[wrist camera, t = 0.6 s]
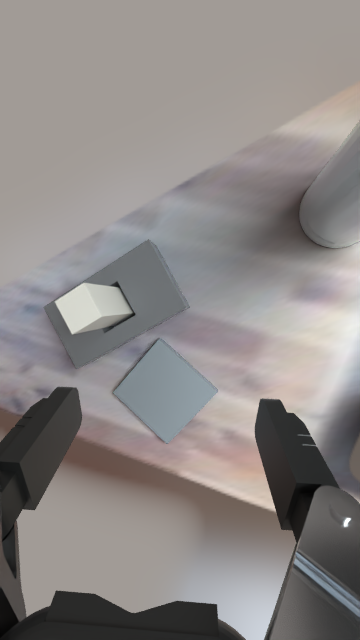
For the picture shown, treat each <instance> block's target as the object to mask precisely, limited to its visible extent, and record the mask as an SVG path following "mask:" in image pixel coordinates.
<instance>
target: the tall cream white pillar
mask: <svg viewBox="0 0 360 640" xmlns="http://www.w3.org/2000/svg"><path fill="white" fill-rule="evenodd" d="M55 303H56V305H57V307H58V309H59V311H60V313H61V315H62V316H63V318H64V320H65V322H66V324H67V326H68V328H69V330H70V331H71V333H72V334H77V333H82V332H86V331H91V330H96V329H101V328H105V327H110V326H115V325H118V324H120V323H121V322H123V321H125V320H127V319H128V318H130V317H132V316H133V315H135V313H134V311H133V309H132V307H131V305H130V304H129V302H128V300H127V298H126V296H125V294H124V292H123V291H122V289H121V288H119V287H111V286H104V285H97V284H90V283H83V284H81V285H80V286H78V287H76V288H75V289H73V290H72V291H70V292H69V293H67V294H66V295H64V296H62V297H61V298H59V299H58V300H56V301H55Z"/></svg>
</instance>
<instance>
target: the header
mask: <svg viewBox="0 0 360 640" xmlns="http://www.w3.org/2000/svg"><path fill="white" fill-rule="evenodd" d="M83 283H90V284H97V285H104V286H111V287H119V288H120V287H121V289H122V291H123V292H124V294H125V296H126V298H127V300H128V302H129V304H130V305H131V307H132V309H133V311H134V313H135V316H133V317H132V318H130V319H128V320H126V321H125V322H123V323H121V324H120V325H118V326H116V327H114V326H110V327H105V328H101V329H96V330H91V331H86V332H82V333H77V334H72V333H71V331H70V330H69V328H68V326H67V324H66V322H65V320H64V318H63V316H62V315H61V313H60V311H59V309H58V307H57V305H56V303H55V301H56V300H58V299H59V298H61V297H62V296H64V295H66V294H67V293H69V292H70V291H72V290H73V289H75V288H76V287H78V286H80V285H81V284H83ZM76 287H74V288H73V289H71V290H70V291H68V292H67V293H65V294H63V295H62V296H60V297H59V298H57V299H56V300H54V301H53V302H51V303H50V304H48V305H46V306H45V307H44V309H45V311H46V313H47V315H48V317H49V318H50V320H51V322H52V324H53V326H54V328H55V330H56V332H57V333H58V335H59V337H60V339H61V341H62V343H63V345H64V347H65V348H66V350H67V352H68V354H69V356H70V358H71V360H72V362H73V363H74V365H75V367H76V369H78V368H80V367H82V366H84V365H87V364H89V363H91V362H93V361H94V360H96V359H98V358H100V357H101V356H103V355H105V354H107V353H109V352H110V351H112V350H114V349H116V348H118V347H119V346H121V345H123V344H125V343H126V342H128V341H130V340H132V339H134V338H135V337H137V336H139V335H141V334H142V333H144V332H146V331H148V330H150V329H151V328H153V327H155V326H157V325H159V324H160V323H162V322H164V321H166V320H167V319H169V318H171V317H173V316H175V315H176V314H178V313H180V312H182V311H184V310H185V309H187V308H189V307H190V306H189V305H188V303H187V301H186V299H185V297H184V295H183V294H182V292H181V290H180V288H179V286H178V285H177V283H176V281H175V279H174V277H173V275H172V274H171V272H170V270H169V268H168V266H167V265H166V263H165V261H164V259H163V257H162V255H161V254H160V252H159V250H158V248H157V246H156V245H155V244H154V243H152V242H151V241H150V240H149V239H148V240H147V241H145V242H144V243H142V244H141V245H139V246H138V247H136V248H135V249H133V250H131V251H130V252H128V253H127V254H125V255H124V256H122V257H121V258H119V259H118V260H116V261H114V262H113V263H111V264H110V265H108V266H107V267H105V268H104V269H102V270H101V271H99V272H97V273H96V274H94V275H93V276H91V277H90V278H88V279H87V280H85V281H84V282H82V283H80V284H79V285H77V286H76Z"/></svg>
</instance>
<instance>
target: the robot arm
mask: <svg viewBox="0 0 360 640" xmlns="http://www.w3.org/2000/svg"><path fill="white" fill-rule="evenodd" d="M299 218H300V223H301V226H302V229H303V230H304V232H305V234H306V235H307V236H308V237H309V238H310V239H311V240H312V241H314V242H315V243H317V244H319V245H322V246H325V247H330V248H343V247H347V246H351V245H353V244H355V243H358V242H360V120H359V122H358V123H357V124H356V126H355V127H354V128H353V130H352V131H351V132H350V134H349V135H348V136H347V138H346V139H345V140H344V142H343V143H342V145H341V146H340V147H339V149H338V150H337V151H336V153H335V154H334V155H333V157H332V158H331V159H330V161H329V162H328V163H327V165H326V166H325V167H324V169H323V170H322V171H321V172H320V174H319V175H318V176H317V178H316V179H315V180H314V182H313V183H312V184H311V186H310V187H309V188H308V190H307V191H306V193H305V195H304V196H303V198H302V201H301V204H300V210H299ZM81 421H82V412H81V406H80V400H79V394H78V390H77V388H72V387H57V388H56V389H55V390H54V391H53V392H52V394H51V395H50V396H49V397H48V398H43V399H42V400H40V401H39V402H37V403H36V404H34V405H33V406H31V407H30V409H29V410H28V411H27V412H26V413H25V414H24V416H23V418H22V419H20V420H19V421H18V423H17V424H16V425H15V427H14V428H12V429H11V431H10V432H9V433H8V434H7V435H6V436H5V438H4V439H3V440H2V441H1V442H0V640H246V639H245V638H244V637H242V636H241V635H240V634H239V633H238V632H237V631H236V630H235V629H234V628H232V627H231V626H229V625H228V624H227V623H225V622H223V621H221V620H219V619H218V614H217V604H206V603H195V602H183V601H175V602H172V603H168V604H165V605H161V606H158V607H155V608H151V609H148V610H145V611H142V612H138V613H130V612H128V611H126V610H124V609H122V608H121V607H119V606H117V605H115V604H113V603H111V602H109V601H107V600H105V599H103V598H102V597H100V596H98V595H96V594H89V593H78V592H66V591H56V592H55V595H54V598H53V600H52V603H51V606H49V607H45V608H43V609H41V610H39V611H37V612H35V613H33V614H31V615H30V616H28V617H26V609H25V604H24V598H23V594H22V589H21V580H20V562H19V544H18V527H17V521H16V519H17V518H18V516H19V514H20V513H21V511H22V509H27V510H35V509H36V507H37V505H38V504H39V502H40V500H41V498H42V496H43V494H44V493H45V491H46V488H47V487H48V485H49V483H50V481H51V480H52V478H53V476H54V474H55V472H56V471H57V469H58V467H59V465H60V463H61V461H62V460H63V458H64V456H65V454H66V452H67V450H68V449H69V446H70V445H71V443H72V441H73V439H74V437H75V436H76V434H77V432H78V430H79V428H80V425H81ZM255 438H256V442H257V446H258V449H259V453H260V456H261V460H262V463H263V467H264V470H265V474H266V477H267V481H268V484H269V488H270V491H271V495H272V498H273V502H274V505H275V509H276V512H277V516H278V519H279V522H280V526H281V529H282V530H293V533H294V536H295V539H296V544H295V547H294V550H293V553H292V556H291V559H290V562H289V566H288V569H287V572H286V576H285V578H284V581H283V584H282V587H281V591H280V594H279V597H278V600H277V603H276V606H275V609H274V612H273V615H272V618H271V621H270V624H269V627H268V629H267V632H266V636H265V639H264V640H360V504H359V502H358V501H357V500H355V499H354V498H353V497H352V496H351V495H350V494H348V493H347V492H345V491H343V490H341V489H340V488H339V486H338V484H337V482H336V481H335V479H334V477H333V475H332V473H331V471H330V470H329V468H328V466H327V464H326V462H325V460H324V459H323V457H322V455H321V453H320V451H319V450H318V448H317V447H316V444H315V442H314V440H313V439H312V437H310V433H309V431H308V429H307V428H306V426H305V424H304V423H303V422H302V421H301V420H300V419H299V418H298V417H297V416H296V415H295V414H294V413H287V412H286V410H285V408H284V406H283V404H282V402H281V401H280V400H279V399H261V400H260V403H259V408H258V413H257V418H256V423H255Z"/></svg>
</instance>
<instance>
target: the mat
mask: <svg viewBox="0 0 360 640" xmlns="http://www.w3.org/2000/svg"><path fill="white" fill-rule="evenodd" d="M217 392H218V389H216V388H215V387H214V386H213V385H212V384H211V383H210V382H209V381H208V380H207V379H205V378H204V377H203V376H202V375H201V374H200V373H199V372H198V371H197V370H195V369H194V368H193V367H192V366H191V365H190V364H189V363H188V362H187V361H186V360H184V359H183V358H182V357H181V356H180V355H179V354H178V353H177V352H176V351H175V350H173V349H172V348H171V347H170V346H169V345H168V344H167V343H166V342H165V341H163V340H162V339H161V338H160V339H158V341H157V342H156V343H155V344H154V345H153V346H152V348H151V349H150V350H149V351H148V352H147V353H146V355H145V356H144V357H143V358H142V359H141V360H140V362H139V363H138V364H137V365H136V366H135V367H134V369H133V370H132V371H131V372H130V373H129V374H128V376H127V377H126V378H125V379H124V380H123V381H122V383H121V384H120V385H119V386H118V387H117V388H116V390H115V391H114V392H113V393H114V394H115V395H116V396H117V397H118V398H119V399H120V400H121V401H122V402H123V403H124V404H125V405H126V406H127V407H128V408H129V409H131V410H132V411H133V412H134V413H135V414H136V415H137V416H138V417H139V418H140V419H141V420H142V421H143V422H144V423H145V424H146V425H147V426H148V427H149V428H150V429H151V430H153V431H154V432H155V433H156V434H157V435H158V436H159V437H160V438H161V439H162V440H163V441H164V442H165V443H166V444H168V443H169V442H170V441H171V440H172V439H173V438H174V437H175V436H176V435H177V434H178V433H179V432H180V431H181V429H182V428H183V427H184V426H185V425H186V424H187V423H188V422H189V421H190V420H191V419H192V418H193V417H194V416H195V415H196V414H197V413H198V412H199V411H200V410H201V409H202V408H203V407H204V406H205V405H206V404H207V402H208V401H209V400H210V399H211V398H212V397H213V396H214V395H215V394H216V393H217Z"/></svg>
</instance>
